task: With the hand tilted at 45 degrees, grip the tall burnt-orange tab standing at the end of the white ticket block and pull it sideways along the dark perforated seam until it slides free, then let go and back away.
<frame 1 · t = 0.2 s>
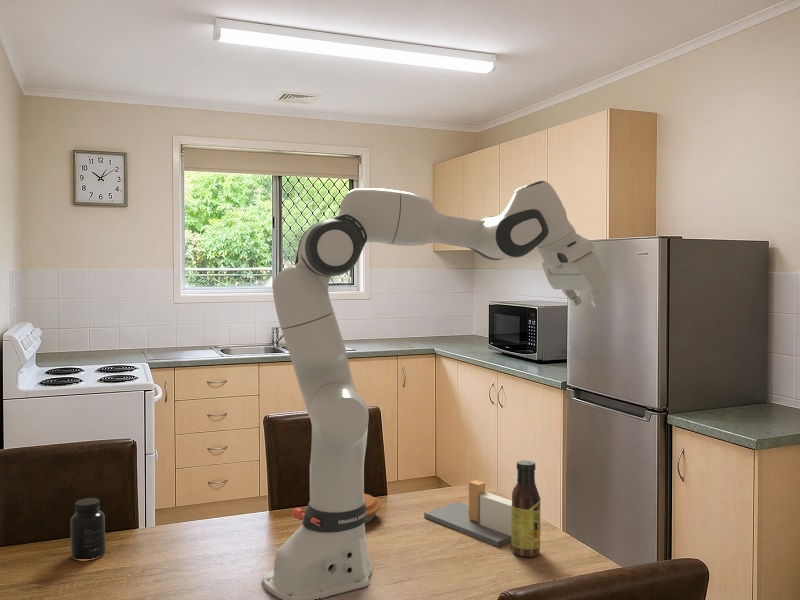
hand: (588, 305, 151), 54 cm above the table, tool tilted 30°, fingers open, 8 cm apart
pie: (350, 519, 171), on the table
ticket block: (482, 527, 165), on the table
sauce bottle: (525, 553, 150), on the table
supplement bottle: (88, 556, 149), on the table
ticket stub: (476, 500, 166), point 6 cm above the table, slide at 0.0 cm
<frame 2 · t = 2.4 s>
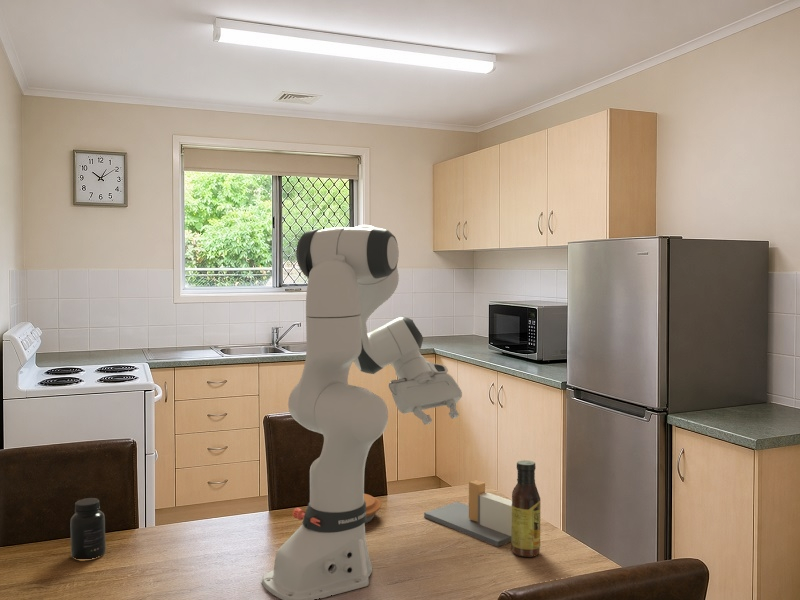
hand: (442, 419, 174), 24 cm above the table, tool tilted 45°, fingers open, 8 cm apart
nothing on the table moved.
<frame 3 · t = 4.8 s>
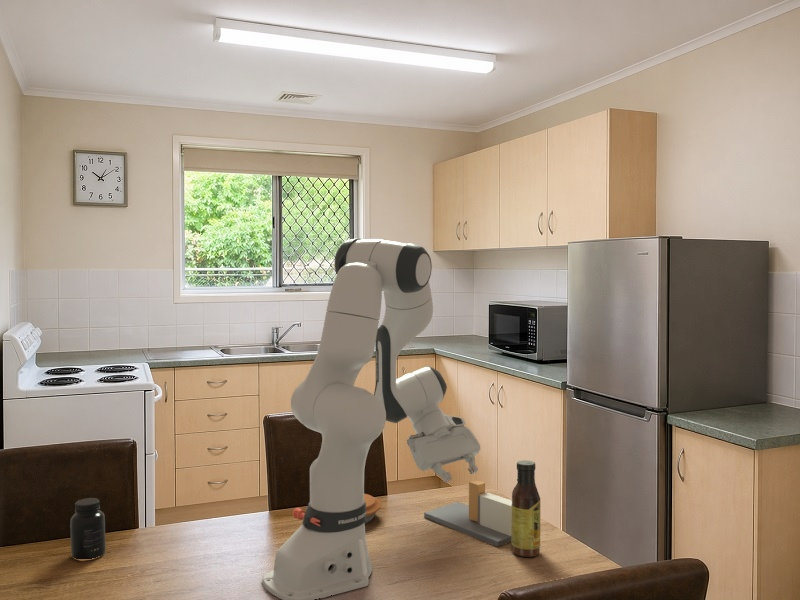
hand: (462, 476, 169), 11 cm above the table, tool tilted 45°, fingers open, 8 cm apart
nothing on the table moved.
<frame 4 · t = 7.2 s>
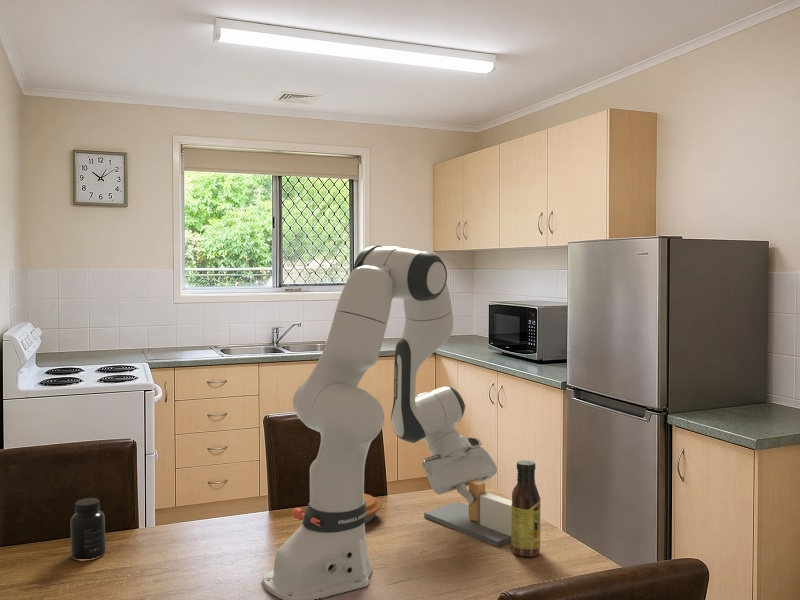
hand: (478, 499, 165), 6 cm above the table, tool tilted 45°, fingers closed on ticket stub, 2 cm apart
ticket stub: (476, 500, 166), point 6 cm above the table, slide at 0.0 cm, touching gripper
everything else where it was.
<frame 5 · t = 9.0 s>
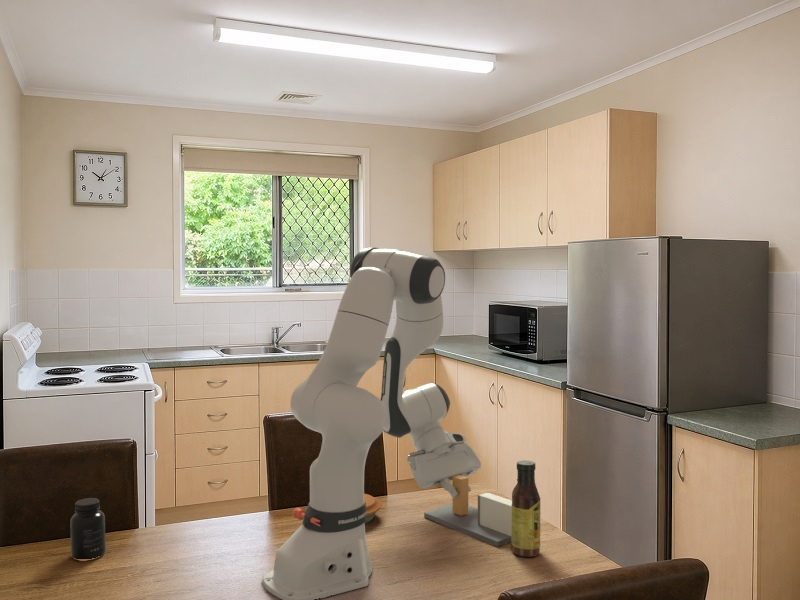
hand: (462, 494, 169), 6 cm above the table, tool tilted 45°, fingers closed on ticket stub, 2 cm apart
ticket stub: (460, 495, 170), point 6 cm above the table, slide at 5.5 cm, touching gripper
everything else where it was.
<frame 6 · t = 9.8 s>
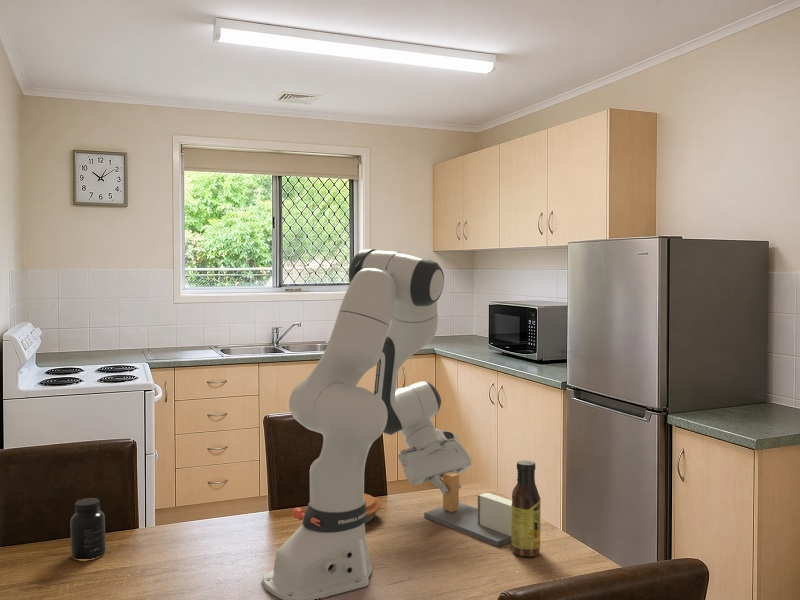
hand: (452, 490, 172), 6 cm above the table, tool tilted 45°, fingers closed on ticket stub, 2 cm apart
ticket stub: (450, 491, 172), point 6 cm above the table, slide at 8.8 cm, touching gripper
everything else where it was.
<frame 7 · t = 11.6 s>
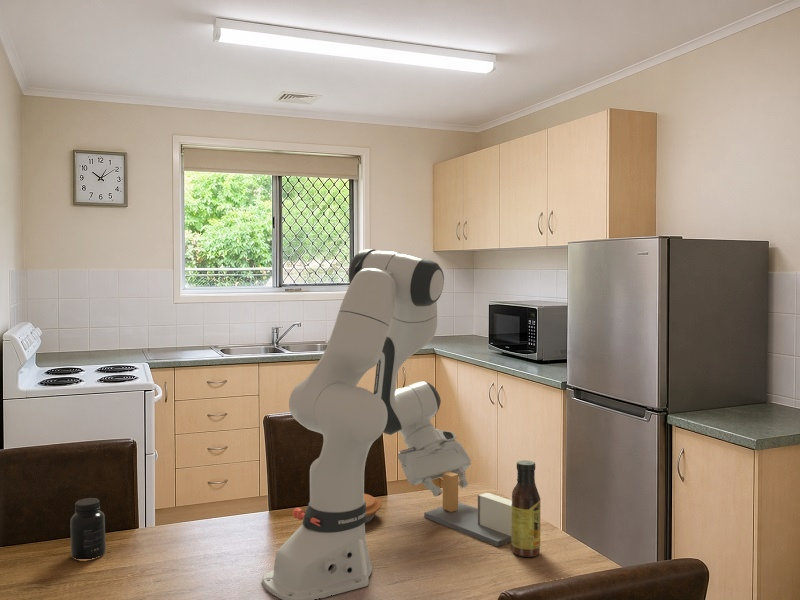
hand: (452, 490, 172), 6 cm above the table, tool tilted 45°, fingers open, 8 cm apart
ticket stub: (450, 491, 172), point 6 cm above the table, slide at 9.0 cm
everything else where it was.
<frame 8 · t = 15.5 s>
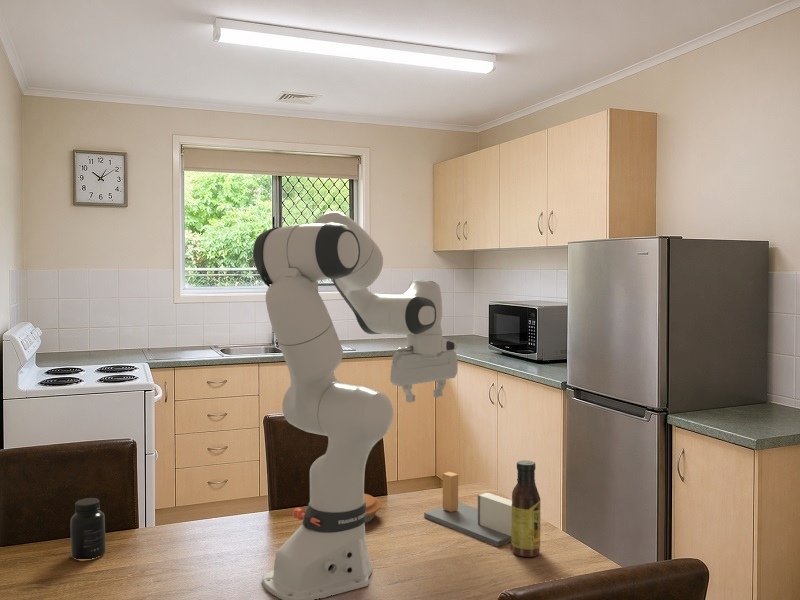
hand: (424, 399, 172), 29 cm above the table, tool pointing down, fingers open, 8 cm apart
nothing on the table moved.
at the end: ticket stub slide at 9.0 cm; the gripper is holding nothing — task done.
